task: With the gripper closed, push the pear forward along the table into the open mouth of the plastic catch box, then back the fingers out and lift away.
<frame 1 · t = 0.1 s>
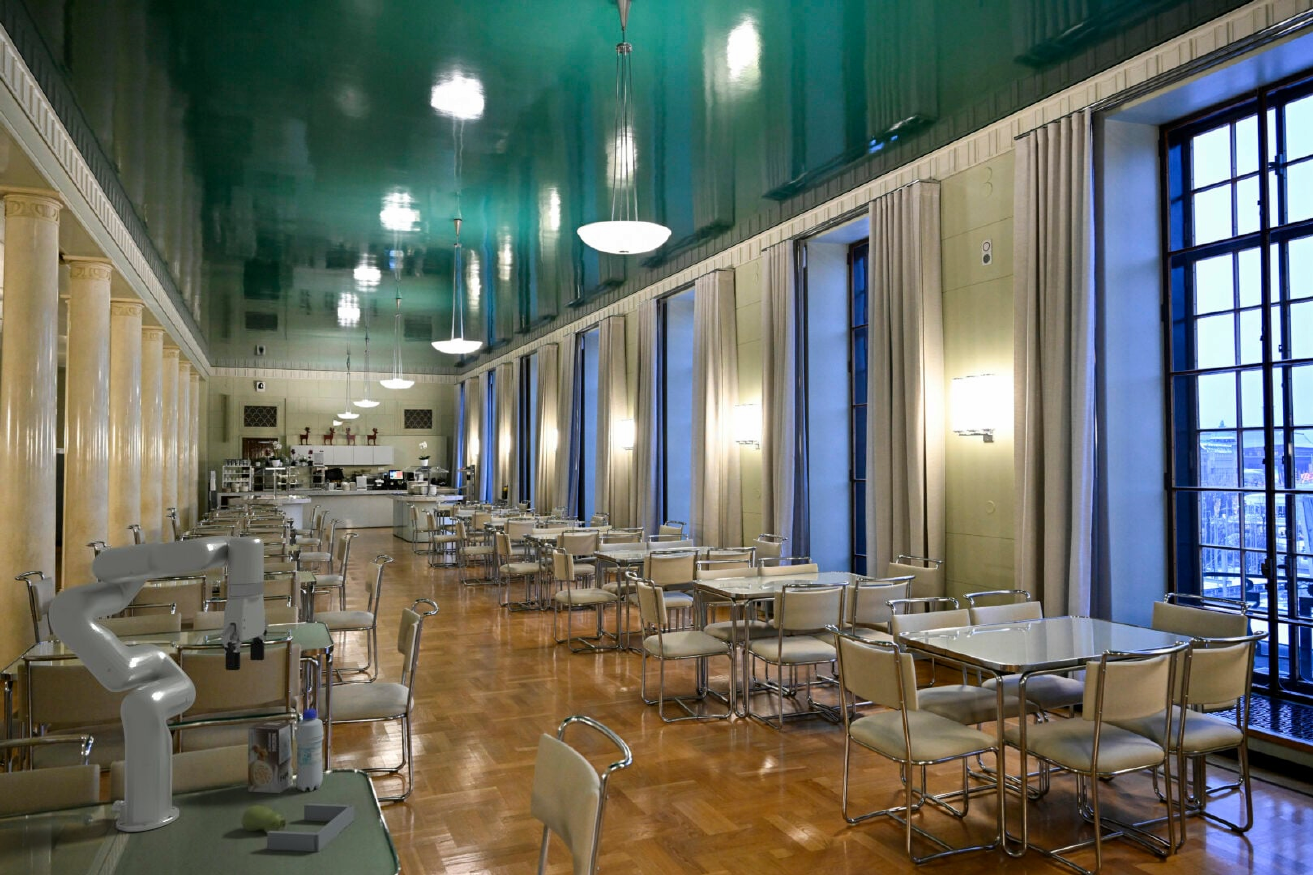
hand: (245, 664, 196), 37 cm above the table, tool pointing down, fingers open, 9 cm apart
bottle: (309, 788, 217), on the table
coffee box: (270, 788, 217), on the table
catch box: (311, 834, 189), on the table
pear: (264, 831, 192), on the table
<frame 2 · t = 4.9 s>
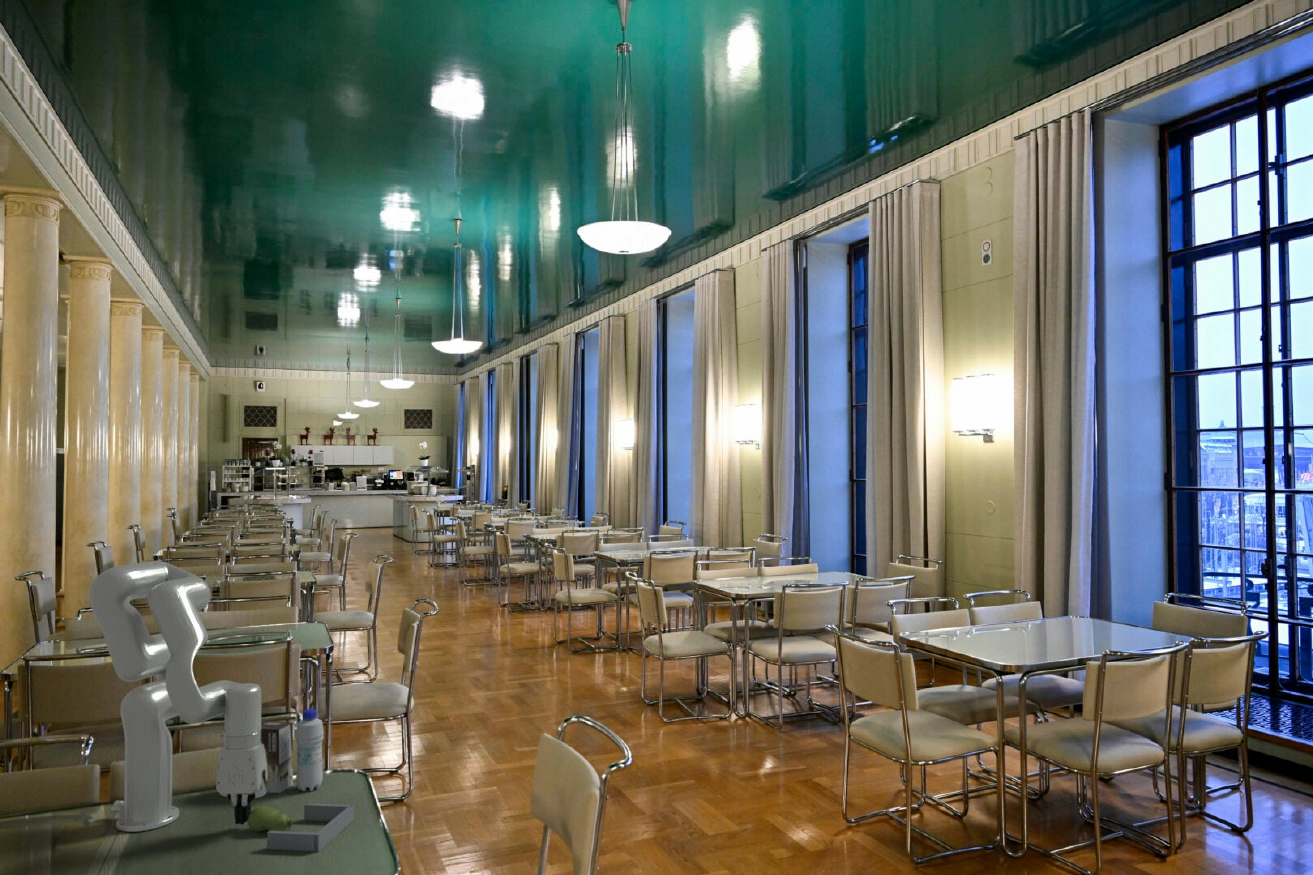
hand: (242, 821, 192), 2 cm above the table, tool pointing down, fingers closed
pear: (270, 832, 191), on the table, touching gripper
everything else where it was.
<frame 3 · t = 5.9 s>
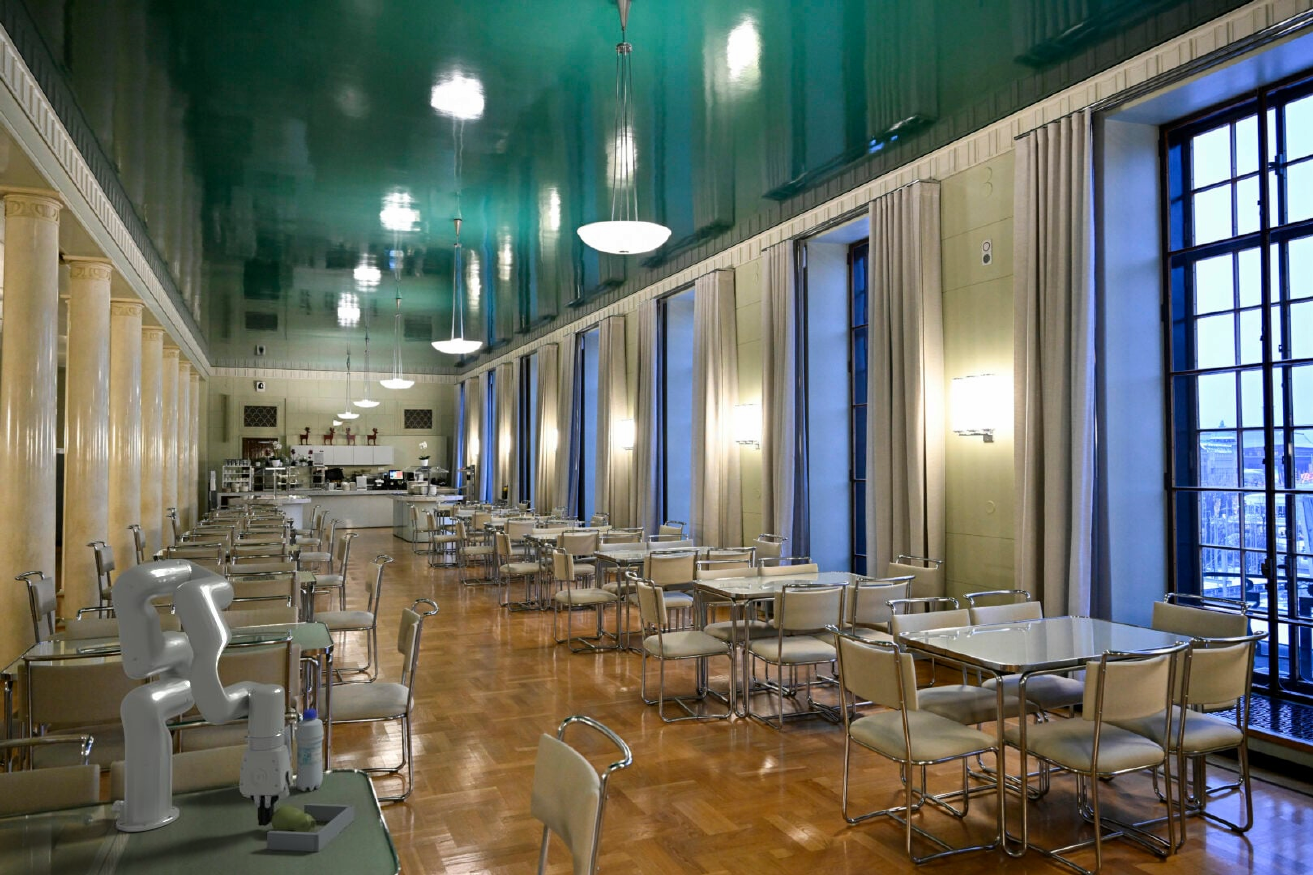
hand: (265, 822, 192), 2 cm above the table, tool pointing down, fingers closed
pear: (294, 832, 191), on the table, touching gripper
everything else where it was.
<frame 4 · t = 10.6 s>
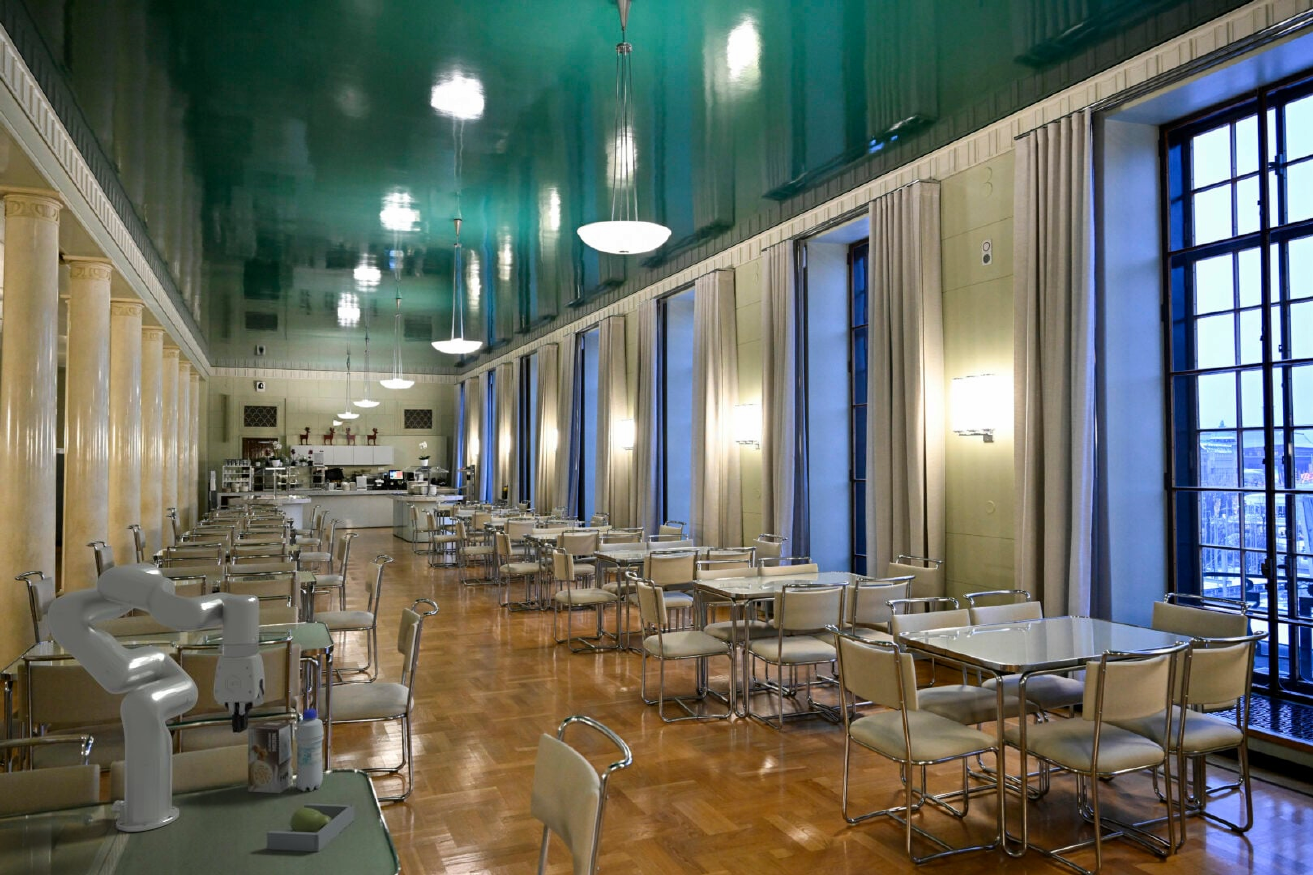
hand: (240, 730, 193), 22 cm above the table, tool pointing down, fingers closed
pear: (313, 834, 190), on the table
everything else where it was.
at the end: pear inside the target area (0.6 cm from its centre), on the table; pear moved 11.9 cm from its start; the gripper is holding nothing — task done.
